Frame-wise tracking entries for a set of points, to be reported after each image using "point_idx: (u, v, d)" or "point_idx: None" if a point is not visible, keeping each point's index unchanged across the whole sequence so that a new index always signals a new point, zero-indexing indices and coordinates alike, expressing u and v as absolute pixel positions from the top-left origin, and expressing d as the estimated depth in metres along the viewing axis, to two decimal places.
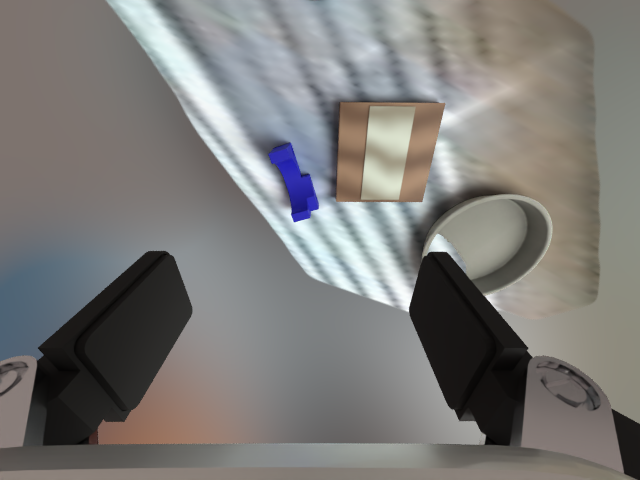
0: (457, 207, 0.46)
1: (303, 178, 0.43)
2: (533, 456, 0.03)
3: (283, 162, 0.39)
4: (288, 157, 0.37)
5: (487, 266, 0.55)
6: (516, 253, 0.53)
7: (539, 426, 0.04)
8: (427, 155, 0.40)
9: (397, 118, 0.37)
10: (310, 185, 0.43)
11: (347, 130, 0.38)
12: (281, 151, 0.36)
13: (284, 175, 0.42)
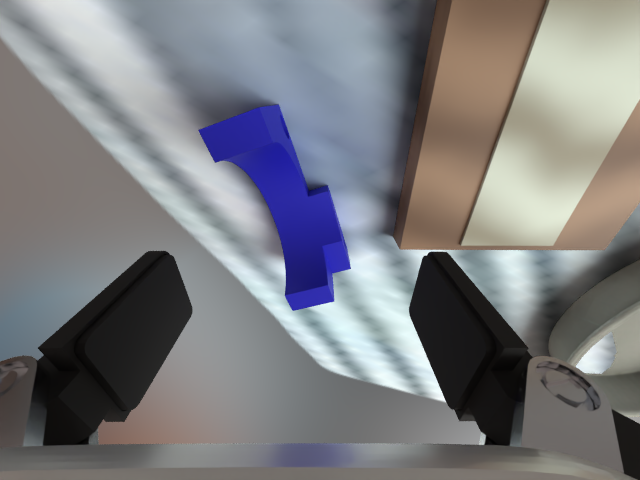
0: None
1: (313, 197, 0.17)
2: (531, 455, 0.03)
3: (258, 156, 0.14)
4: (267, 139, 0.11)
5: None
6: None
7: (539, 426, 0.04)
8: None
9: None
10: (331, 214, 0.17)
11: (467, 53, 0.12)
12: (241, 119, 0.11)
13: (266, 191, 0.17)
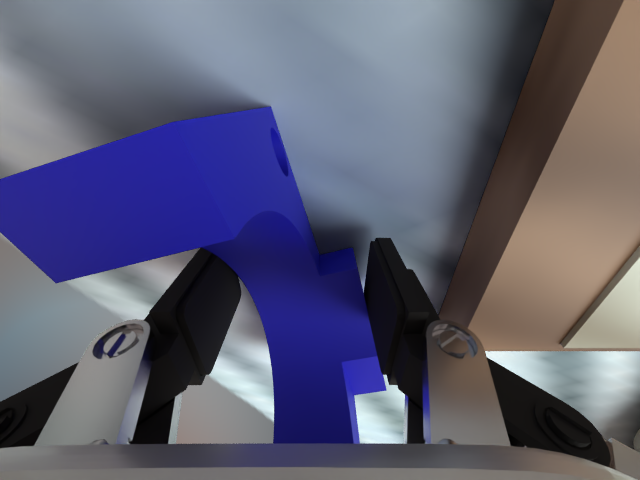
0: None
1: (329, 277, 0.09)
2: (531, 456, 0.03)
3: None
4: (215, 230, 0.03)
5: None
6: None
7: (440, 387, 0.05)
8: None
9: None
10: (359, 305, 0.10)
11: None
12: (112, 162, 0.03)
13: (241, 267, 0.09)
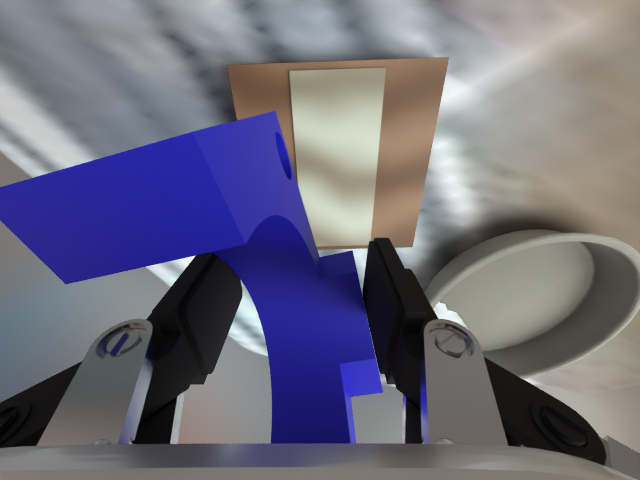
0: (475, 252, 0.26)
1: (329, 280, 0.10)
2: (532, 456, 0.03)
3: None
4: (226, 235, 0.03)
5: (522, 331, 0.35)
6: (570, 313, 0.33)
7: (437, 386, 0.05)
8: (416, 166, 0.21)
9: (350, 94, 0.18)
10: (358, 308, 0.10)
11: None
12: (130, 168, 0.03)
13: (242, 268, 0.09)
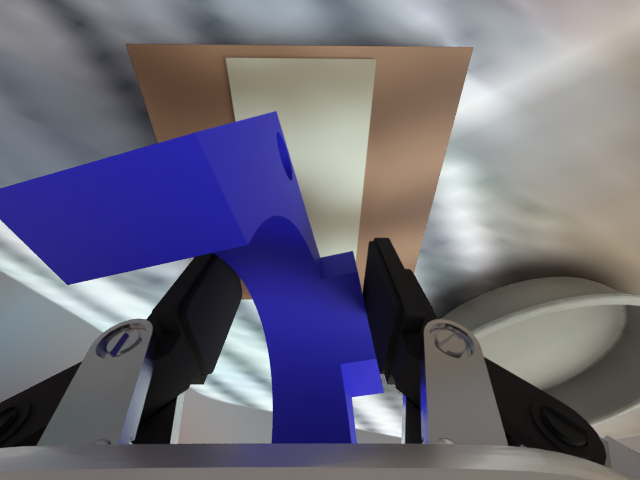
0: (486, 304, 0.21)
1: (330, 280, 0.10)
2: (531, 455, 0.03)
3: None
4: (229, 236, 0.03)
5: (531, 383, 0.30)
6: (589, 366, 0.28)
7: (438, 386, 0.05)
8: (416, 201, 0.15)
9: (322, 99, 0.12)
10: (359, 308, 0.10)
11: None
12: (132, 169, 0.03)
13: (243, 268, 0.09)
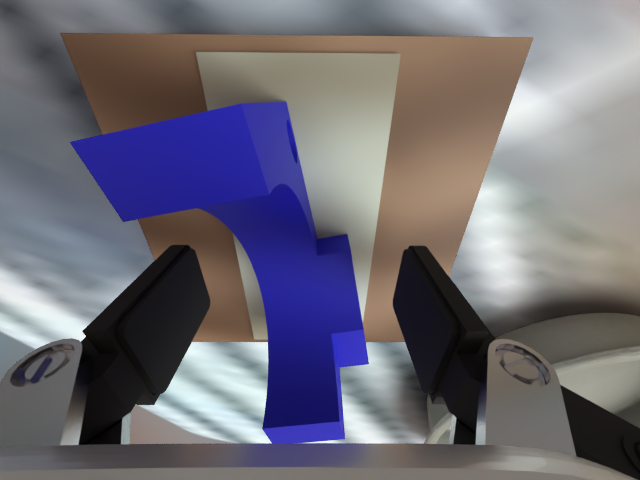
0: None
1: (326, 257, 0.11)
2: (532, 456, 0.03)
3: None
4: (255, 186, 0.04)
5: None
6: (627, 406, 0.24)
7: (500, 407, 0.04)
8: (443, 233, 0.12)
9: (327, 107, 0.09)
10: (350, 284, 0.11)
11: None
12: (191, 128, 0.04)
13: (248, 241, 0.10)
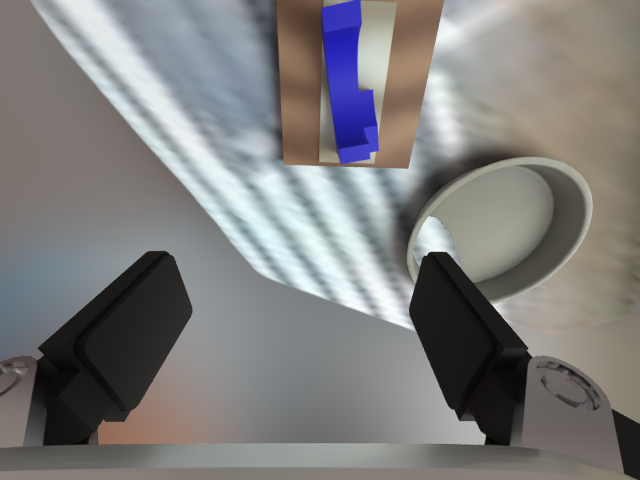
0: (458, 179, 0.32)
1: (362, 93, 0.25)
2: (532, 455, 0.03)
3: (340, 44, 0.21)
4: (359, 21, 0.19)
5: (495, 265, 0.41)
6: (534, 248, 0.39)
7: (539, 426, 0.04)
8: (415, 91, 0.27)
9: (368, 23, 0.23)
10: (372, 107, 0.26)
11: (291, 44, 0.24)
12: (348, 4, 0.18)
13: (332, 81, 0.24)
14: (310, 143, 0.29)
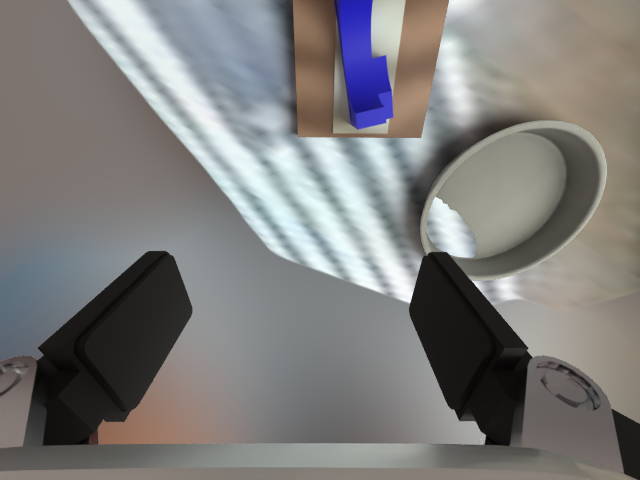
0: (471, 148, 0.32)
1: (375, 59, 0.26)
2: (532, 456, 0.03)
3: (355, 8, 0.22)
4: None
5: (507, 239, 0.41)
6: (547, 220, 0.39)
7: (539, 426, 0.04)
8: (428, 57, 0.27)
9: None
10: (385, 73, 0.26)
11: (306, 11, 0.25)
12: None
13: (346, 48, 0.25)
14: (324, 114, 0.30)
